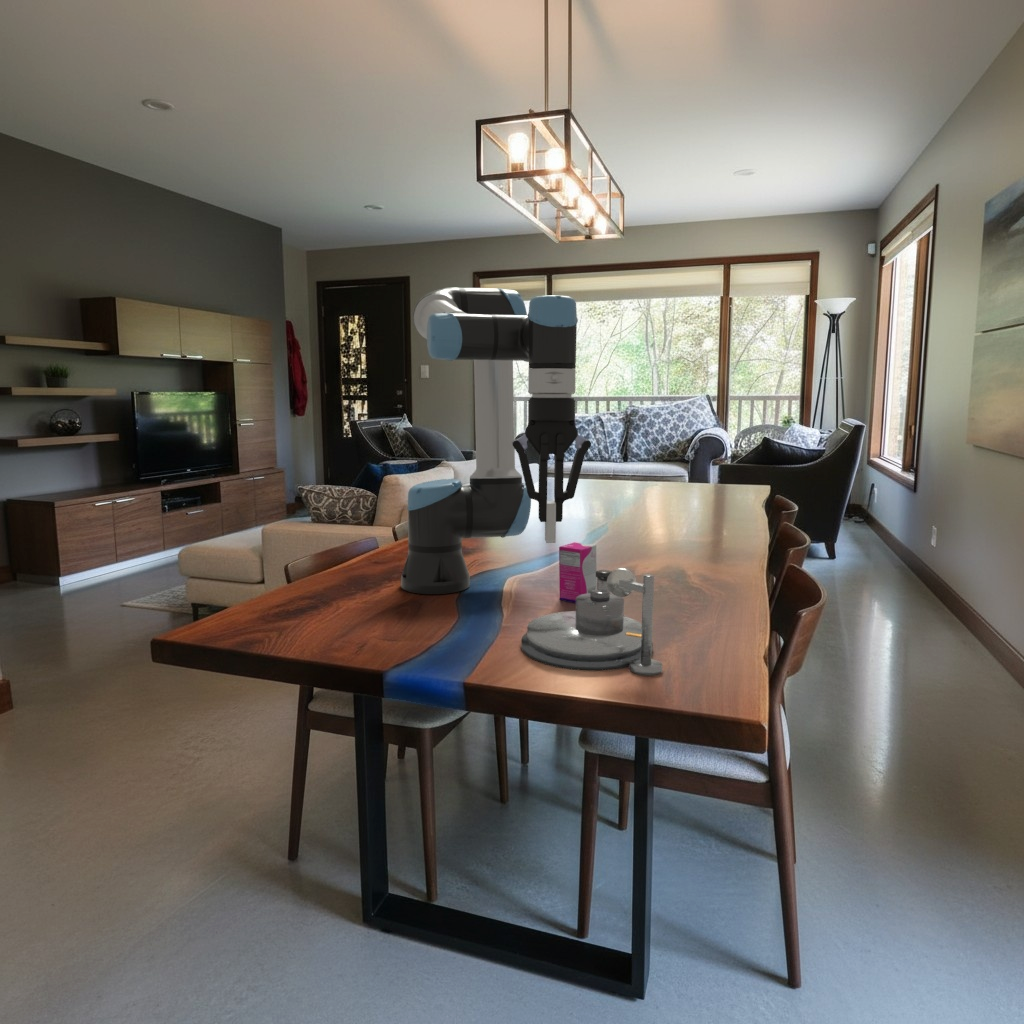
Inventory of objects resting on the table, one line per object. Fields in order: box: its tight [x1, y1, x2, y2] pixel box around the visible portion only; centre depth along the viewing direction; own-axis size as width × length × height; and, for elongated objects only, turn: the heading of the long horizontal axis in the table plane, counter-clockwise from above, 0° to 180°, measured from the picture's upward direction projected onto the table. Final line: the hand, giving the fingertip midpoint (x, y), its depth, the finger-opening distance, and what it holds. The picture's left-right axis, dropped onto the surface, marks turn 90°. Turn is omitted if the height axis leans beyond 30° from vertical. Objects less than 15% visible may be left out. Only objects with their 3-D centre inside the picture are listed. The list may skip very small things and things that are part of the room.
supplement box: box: [558, 542, 597, 604], centre depth 156 cm, size 6×6×12 cm
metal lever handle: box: [607, 567, 663, 677], centre depth 117 cm, size 10×5×15 cm, turn 64°
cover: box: [575, 590, 625, 635], centre depth 126 cm, size 8×8×6 cm
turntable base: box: [520, 632, 654, 672], centre depth 127 cm, size 22×22×1 cm
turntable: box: [526, 569, 642, 660], centre depth 126 cm, size 20×20×10 cm
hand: (550, 541), depth 124 cm, fingers closed
